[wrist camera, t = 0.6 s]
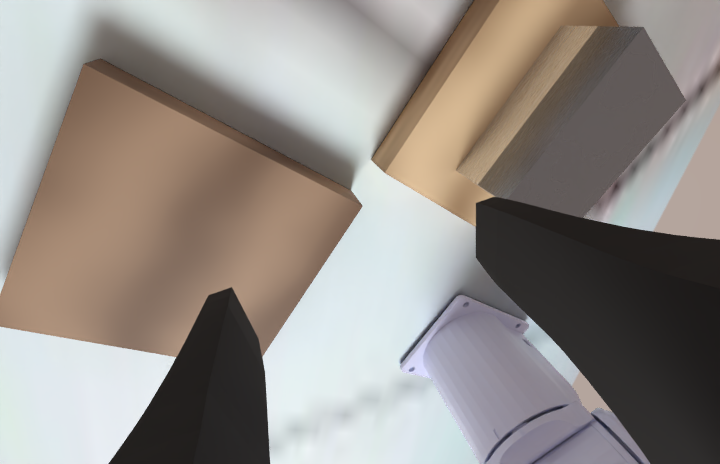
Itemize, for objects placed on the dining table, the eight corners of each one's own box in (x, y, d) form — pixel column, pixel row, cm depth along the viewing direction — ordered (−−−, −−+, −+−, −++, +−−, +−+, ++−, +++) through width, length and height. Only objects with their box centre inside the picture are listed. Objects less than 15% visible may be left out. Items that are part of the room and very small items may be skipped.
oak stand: (626, 84, 22) (658, 89, 20) (500, 238, 25) (519, 253, 24) (519, -70, 16) (552, -80, 14) (371, 159, 19) (384, 172, 18)
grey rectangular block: (607, 86, 19) (685, 100, 16) (509, 207, 21) (561, 241, 18) (561, 25, 17) (643, 27, 13) (455, 170, 19) (504, 202, 16)
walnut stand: (351, 190, 20) (362, 206, 18) (251, 345, 23) (253, 370, 21) (100, 58, 14) (83, 64, 12) (12, 294, 17) (-11, 324, 15)
